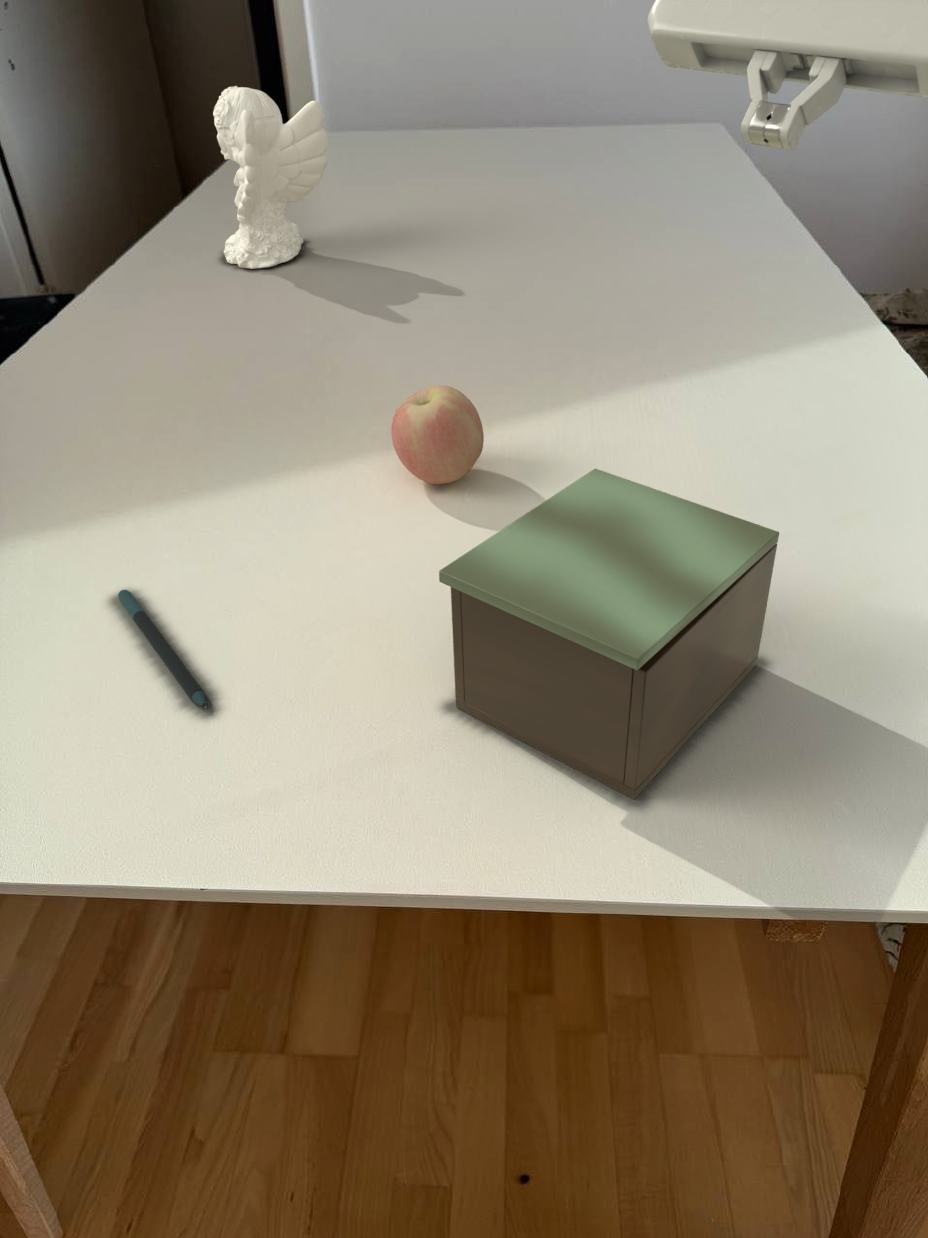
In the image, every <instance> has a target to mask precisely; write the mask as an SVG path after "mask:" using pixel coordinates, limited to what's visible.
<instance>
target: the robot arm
mask: <svg viewBox="0 0 928 1238" xmlns="http://www.w3.org/2000/svg"><path fill="white" fill-rule="evenodd" d="M646 21H647V29H648V33H649V35H650V39H651V42H652V43H653V46H654V49H655V51H656V52H657V54H658V56H659V58H660V59H661V61H662V63H663V64H664V65H665V66H666V67H669V68H673V69H683V70H690V71H699V72H707V73H715V74H725V75H733V76H741V77H742V76H743V77H747V82H748V83H747V84H748V92H749V100H750V104H749V106H748V108H747V110H746V111H745V114H744V117H743V119H742V121H741V124H740V134H741V137H742V139H743V142H744V144H748V145H755V146H756V145H757V146H762V147H770V148H775V149H781V150H786V151H794V150H795V149H796V148H797V145H798V143H799V141H800V139H801V137H802V135H803V133H804V131H805V128H806V126H810V125H811V124H812V123H813V122H814V121H816V120H817V119H818V118H820V117H821V116H822V115H824V114H825V113H826V112H827V111H829V110H830V109H831V108H832V107H833V106H835V105H836V104H838V102H839V100H840V98H841V96H842V94H843V92H844V90H845V89H851V90H858V91H867V92H876V93H884V94H890V95H891V94H893V95H900V96H907V97H908V96H909V97H917V98H926V99H928V0H654V2H653V4H652V5H651V8H650V9H649V12H648V14H647V20H646ZM784 82H792V83H799V84H800V83H801V84H808V86H806V88H804V89H803V90H802V91H801V92H800V93H799V94H798V95H797V96H796V97H795V98H794V99H793V100H791V102H789V103H779V102H778V103H776V102H772V101H771V102H770V101H769V95H768V94H772V95H773V94H774V95H776V94H778V93H779V91H780V89H781V87H782V85H783V83H784Z"/></svg>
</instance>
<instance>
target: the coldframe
mask: <svg viewBox="0 0 928 1238" xmlns="http://www.w3.org/2000/svg"><path fill="white" fill-rule="evenodd" d="M777 548H778V543H777V544H775V545H774V546H773V547H772V548H771V549H770V550H769V551H768V552H767V553H766V554H764V555H763V556H762V557H761V558H760V559H759V560H758V561H757V562H756V563H755V564H754V565H752V566H751V567H750V568H749V569H748V570H747V571H746V572H745V573H744V574H743V575H741V576H740V577H739V578H738V579H737V580H736V581H735V582H734V583H733V584H732V585H730V586H729V587H728V588H727V589H726V590H725V591H724V592H723V593H722V594H721V595H719V596H718V597H717V598H716V599H715V600H714V601H713V602H712V603H711V604H710V605H709V606H707V607H706V608H705V609H704V610H703V611H702V612H701V613H700V614H699V615H698V616H696V617H695V618H694V619H693V620H692V621H691V622H690V623H689V624H688V625H687V626H685V627H684V628H683V629H682V630H681V631H680V632H679V633H678V634H677V635H676V636H675V637H673V638H672V639H671V640H670V641H669V642H668V643H667V644H666V645H665V646H664V647H662V648H661V649H660V650H659V651H658V652H657V653H656V654H655V655H654V656H653V657H651V658H650V659H649V660H648V661H647V662H646V663H645V664H644V665H643V666H642V667H640V668H639V669H638V670H635V669H633V668H631V667H629V666H626V665H624V664H622V663H620V662H617V661H615V660H613V659H611V658H609V657H606V656H604V655H602V654H600V653H597V652H595V651H593V650H591V649H588V648H586V647H584V646H582V645H579V644H577V643H575V642H573V641H571V640H568V639H566V638H564V637H562V636H559V635H557V634H555V633H553V632H550V631H548V630H546V629H544V628H542V627H539V626H537V625H535V624H533V623H530V622H528V621H526V620H524V619H521V618H519V617H517V616H515V615H513V614H510V613H508V612H506V611H504V610H501V609H499V608H497V607H495V606H492V605H490V604H488V603H486V602H483V601H481V600H479V599H477V598H475V597H472V596H470V595H468V594H466V593H463V592H461V591H459V590H457V589H454V588H452V587H450V602H451V603H450V605H451V626H452V647H453V648H452V649H453V650H452V651H453V670H454V674H453V675H454V695H455V696H454V697H455V707H456V708H457V709H459V710H461V711H463V712H465V713H466V714H468V715H470V716H473V717H475V718H476V719H478V720H480V721H482V722H484V723H486V724H488V725H490V726H492V727H493V728H494V729H497V730H499V731H501V732H503V733H505V734H507V735H508V736H511V737H513V738H515V739H517V740H518V741H521V742H522V743H524V744H526V745H528V746H529V747H532V748H534V749H536V750H538V751H540V752H542V753H544V754H546V755H548V756H549V757H551V758H553V759H555V760H558V761H559V762H561V763H563V764H565V765H567V766H569V767H570V768H572V769H574V770H576V771H577V772H581V773H582V774H584V775H586V776H587V777H589V778H591V779H594V780H596V781H597V782H599V783H602V784H603V785H605V786H607V787H609V788H611V789H613V790H614V791H617V792H619V793H621V794H622V795H624V796H626V797H629V798H630V799H632V800H635V799H636V798H637V797H638V796H639V795H640V794H642V792H643V791H644V790H645V788H646V787H647V786H648V785H649V784H650V783H651V782H652V781H653V779H654V778H655V777H656V776H657V775H658V774H659V773H660V772H661V771H662V770H663V769H664V767H665V766H667V765H668V763H669V762H670V761H671V760H672V759H673V758H674V756H675V755H676V754H677V753H678V752H679V751H680V750H681V749H682V748H683V746H684V745H685V744H686V743H687V742H688V741H689V740H690V739H691V738H692V737H693V736H694V734H695V733H696V732H697V731H698V730H699V729H700V728H701V727H702V725H704V724H705V722H706V721H707V720H708V719H709V718H710V717H711V716H712V714H713V713H714V712H715V711H716V710H717V709H718V708H719V707H720V706H721V704H722V703H723V702H724V701H725V700H726V699H727V698H728V697H729V696H730V695H731V694H732V693H733V692H734V690H735V689H736V688H737V687H738V686H739V685H740V684H741V683H742V682H743V680H744V679H746V677H747V676H748V675H749V674H750V673H751V672H752V671H753V670H754V668H755V667H756V666H757V664H758V659H759V653H760V647H761V641H762V636H763V630H764V626H765V625H764V624H765V618H766V613H767V607H768V601H769V595H770V590H771V584H772V577H773V572H774V567H775V560H776V555H777Z"/></svg>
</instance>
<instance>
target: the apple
mask: <svg viewBox="0 0 928 1238" xmlns="http://www.w3.org/2000/svg"><path fill="white" fill-rule="evenodd" d="M390 427H391V429H390V432H391V433H390V434H391V442H392V446H393V448H394V451H395V454H396V455H397V457H398V459H399V461H400V463H401V464H402V465H403V466H404V468H405V469H407V470H408V471H409V472H410V474H411V475H413V476H414V477H416V478H417V479H419V480H420V481H423V482H424V483H428V484H431V485H444V484H450V483H453V482H456V481H458V480H460V479H461V478H463V477H464V476H465V475H466V474H468V473H469V472H470V471H471V469H472V468H473V467H474V465H475V464H476V463H477V462H478V460H479V459H480V457H481V455H482V452H483V450H484V449H483V448H484V441H485V439H484V438H485V437H484V427H483V424H482V421H481V417H480V414H479V412H478V410H477V408H476V407H475V405H474V403H473V402H472V401H471V400H470V399H469V398H468V396H466V395H465V394H464V393H463V392H461V391H460V390H458V389H456V388H455V387H453V386H450V385H442V384H433V385H428V386H426V387H424V388H423V389H420V390H418V391H417V392H415V393H413V394H412V395H410V396H408V397H407V398H406V399H404V400H403V401H402V402H401V403H400V404H399V406H398V407H397V408H396V410H395V411H394V414H393V416H392V421H391V426H390Z"/></svg>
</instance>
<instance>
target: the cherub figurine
mask: <svg viewBox="0 0 928 1238" xmlns="http://www.w3.org/2000/svg"><path fill="white" fill-rule="evenodd" d="M220 94H221V95H219V96H218V100H217V101H216V103H215V105H214V107H213V112H212V115H213V122H214V123H213V124H214V127H215V128H216V131H217V134H216V140H217V143H218V146H219V147H220V153H221V155H223V158H224V160H230V161H233V162H235V163H237V164H238V165H239V168H238V169H237V170H236V173H235V175H234V178H233V185H234V186H236V187H238V189H237V191H236V195H235V198H234V205H235V206H236V207H237V213H236V220H237V221H238V222H239V225H238V226H239V227H238V229H237V231H235V232H234V233H233V234H231V235H230V236H229V237H228V238H227V239H226V240H225V242H224V249H223V254H224V257H225V260H226V262H227V263H228V264H230V265H238V267H239V268H241V269H251V270H256V269H264V268H270V267H274V266H277V265H279V264H282V263H286V262H289V261H291V260H293V259H294V257H297V256H298V255H299V253H300V251H301V248H302V245H303V244H304V239H303V238H302V235H301V234H299V233H300V228H299V226H298V224H296V223H294V222H292V221H290V220H289V218H287V216H286V213H285V212H286V210H287V203H297V202H300V201H301V200H303V198H304V197H305V196H307V195H309V194H310V193H311V192H312V191H313V190H314V188H315V186H316V185H318V184H319V183H320V182H321V180H322V179H323V177H324V174H323V173H324V172H325V170H326V168H327V166H328V162H329V160H328V155H327V151H328V149H329V144H330V143H329V136H328V132H327V131H326V129H325V128H324V125H325V120H326V115H325V111H324V108H323V106H322V105H321V104H320V102H319V101H318V100H312V101H308V103H306V104H304V106H303V107H302V108H300V110H299V111H297V112H296V113H295V114H294V116H292V117H291V118H290V119H289V120H288V121H286V122H285V123H283V117H282V113H281V110H280V108H279V106H278V104H277V103H276V102H275V101H274V100H273V99H272V98H271V97H270V96H269V95H268V94H267V93H266V92H264V91H262V90H259V89H255V88H251V87H247V86H246V87H243V86H240V87H238V85H235V86H234V85H233V86H228V87H227V88H224V89H223V90H222V91H221V93H220Z"/></svg>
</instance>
